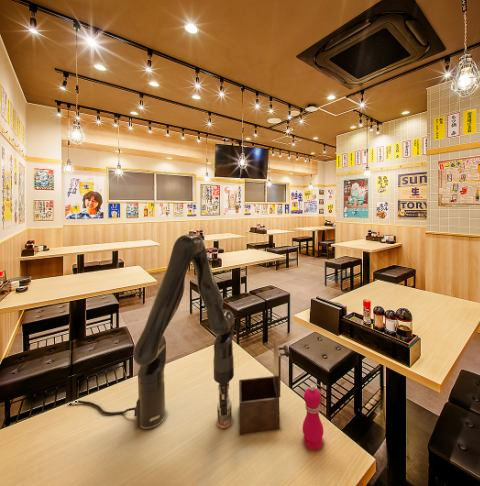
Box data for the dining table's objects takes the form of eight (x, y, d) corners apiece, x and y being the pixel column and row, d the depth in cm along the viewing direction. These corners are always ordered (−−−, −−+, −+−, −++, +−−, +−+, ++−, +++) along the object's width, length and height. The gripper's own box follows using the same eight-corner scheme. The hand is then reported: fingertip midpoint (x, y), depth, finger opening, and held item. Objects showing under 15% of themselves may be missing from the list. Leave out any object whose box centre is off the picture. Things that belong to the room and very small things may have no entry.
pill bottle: (219, 416, 101) (218, 392, 100) (232, 416, 101) (232, 392, 100) (216, 428, 95) (215, 402, 95) (230, 428, 95) (229, 402, 95)
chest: (239, 434, 92) (239, 403, 92) (239, 407, 105) (239, 379, 105) (279, 429, 95) (279, 398, 94) (274, 403, 107) (274, 375, 107)
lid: (278, 356, 94) (292, 355, 94) (273, 338, 106) (285, 337, 107) (278, 397, 94) (291, 396, 95) (273, 374, 107) (285, 373, 107)
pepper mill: (310, 455, 85) (309, 396, 84) (298, 437, 91) (298, 382, 90) (327, 445, 88) (327, 388, 87) (315, 429, 94) (314, 376, 94)
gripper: (215, 354, 104) (216, 395, 104) (211, 378, 90) (212, 425, 90) (233, 353, 105) (234, 393, 105) (233, 376, 91) (234, 422, 91)
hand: (224, 408), depth 98 cm, fingers open, 5 cm apart
